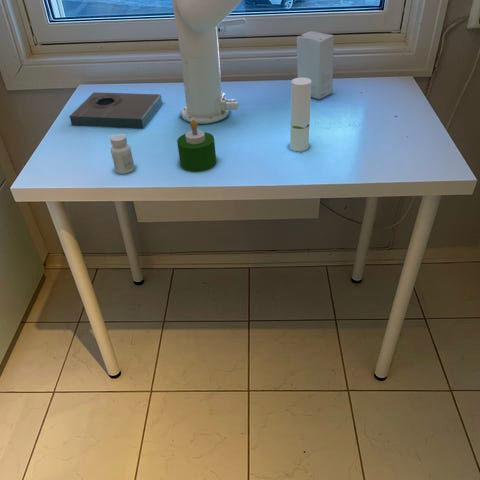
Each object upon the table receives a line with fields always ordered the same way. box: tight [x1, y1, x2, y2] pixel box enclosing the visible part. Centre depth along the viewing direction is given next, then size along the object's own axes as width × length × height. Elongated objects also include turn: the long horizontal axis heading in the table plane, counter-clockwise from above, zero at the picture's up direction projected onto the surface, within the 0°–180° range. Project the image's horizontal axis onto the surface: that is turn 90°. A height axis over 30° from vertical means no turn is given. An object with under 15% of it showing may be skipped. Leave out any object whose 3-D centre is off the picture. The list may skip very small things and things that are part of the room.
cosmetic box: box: [296, 30, 335, 100], centre depth 139 cm, size 8×6×15 cm
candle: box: [176, 120, 217, 172], centre depth 116 cm, size 8×8×10 cm
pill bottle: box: [109, 133, 135, 175], centre depth 116 cm, size 4×4×8 cm
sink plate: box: [69, 91, 163, 129], centre depth 140 cm, size 20×16×2 cm
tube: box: [289, 77, 312, 152], centre depth 117 cm, size 4×4×15 cm
